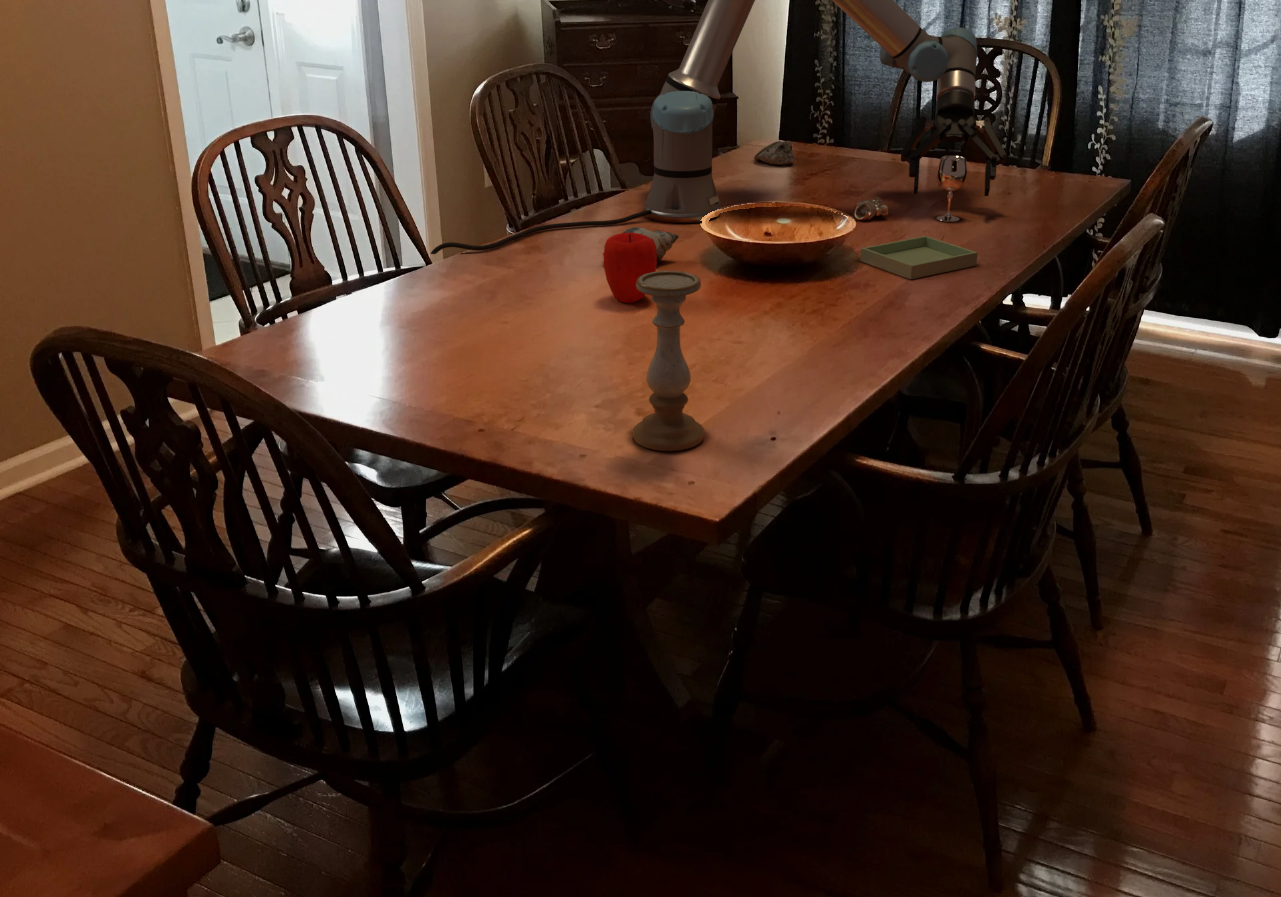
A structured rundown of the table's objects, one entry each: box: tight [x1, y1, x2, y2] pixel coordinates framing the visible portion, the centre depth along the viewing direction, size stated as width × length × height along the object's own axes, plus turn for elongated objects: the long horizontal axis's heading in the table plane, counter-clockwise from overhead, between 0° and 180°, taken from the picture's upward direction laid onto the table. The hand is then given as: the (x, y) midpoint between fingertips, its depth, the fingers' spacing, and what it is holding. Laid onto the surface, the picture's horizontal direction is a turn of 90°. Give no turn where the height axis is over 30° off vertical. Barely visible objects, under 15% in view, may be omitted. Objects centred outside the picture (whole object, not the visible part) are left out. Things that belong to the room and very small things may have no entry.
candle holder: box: [632, 270, 705, 452], centre depth 153 cm, size 9×9×20 cm
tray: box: [859, 235, 978, 280], centre depth 223 cm, size 15×13×2 cm
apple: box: [603, 232, 658, 304], centre depth 205 cm, size 9×9×11 cm
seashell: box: [602, 226, 679, 263], centre depth 225 cm, size 6×8×12 cm
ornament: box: [853, 196, 889, 221], centre depth 252 cm, size 8×7×4 cm
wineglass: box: [936, 155, 968, 223], centre depth 249 cm, size 6×6×12 cm
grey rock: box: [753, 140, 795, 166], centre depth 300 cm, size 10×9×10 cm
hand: (951, 191), depth 248 cm, fingers open, 13 cm apart
